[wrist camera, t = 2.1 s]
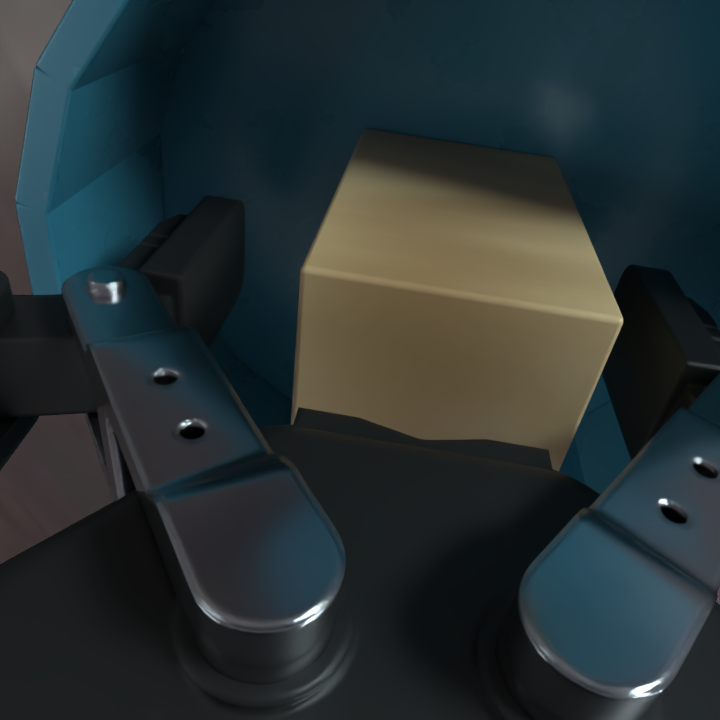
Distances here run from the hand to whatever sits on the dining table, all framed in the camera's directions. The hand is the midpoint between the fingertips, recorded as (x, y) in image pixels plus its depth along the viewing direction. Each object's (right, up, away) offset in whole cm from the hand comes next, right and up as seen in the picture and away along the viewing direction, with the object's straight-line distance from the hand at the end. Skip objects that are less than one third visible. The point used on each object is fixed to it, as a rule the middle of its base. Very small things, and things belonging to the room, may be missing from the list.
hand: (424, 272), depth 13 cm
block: (+1, +1, +2) cm, 3 cm away
